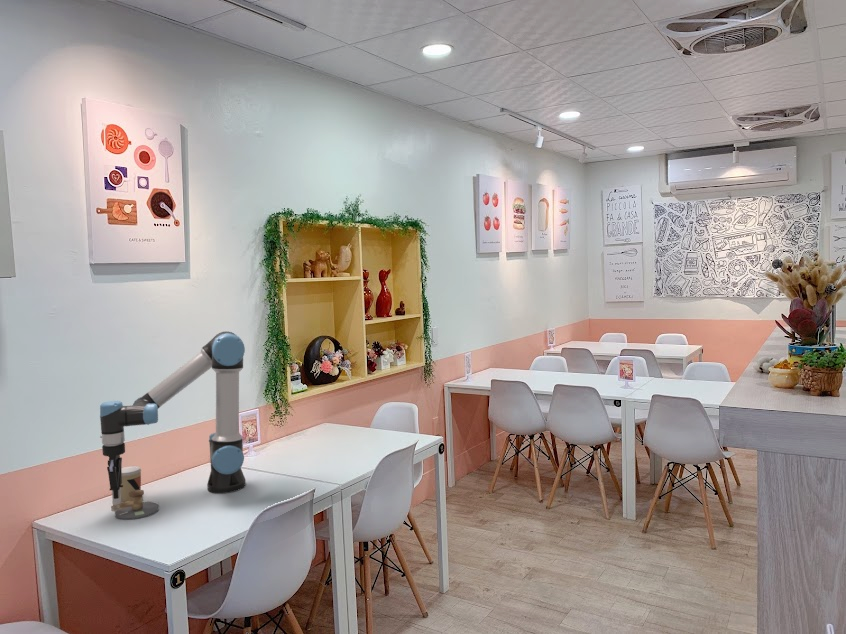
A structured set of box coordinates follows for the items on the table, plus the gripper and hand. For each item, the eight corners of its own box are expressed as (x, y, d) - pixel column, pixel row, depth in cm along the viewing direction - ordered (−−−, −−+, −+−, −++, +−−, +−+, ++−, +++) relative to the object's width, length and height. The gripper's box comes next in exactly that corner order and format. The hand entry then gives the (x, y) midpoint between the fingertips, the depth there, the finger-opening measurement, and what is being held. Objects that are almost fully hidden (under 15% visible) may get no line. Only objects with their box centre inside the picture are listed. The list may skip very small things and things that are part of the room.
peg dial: (139, 504, 245) (138, 488, 245) (147, 507, 242) (146, 491, 242) (109, 515, 236) (108, 498, 235) (117, 517, 233) (116, 501, 232)
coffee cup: (132, 503, 251) (131, 473, 250) (111, 502, 253) (109, 472, 252) (147, 495, 260) (145, 466, 259) (127, 494, 262) (125, 465, 261)
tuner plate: (166, 504, 249) (165, 501, 249) (147, 519, 234) (146, 516, 234) (128, 504, 250) (128, 501, 250) (106, 520, 235) (106, 516, 235)
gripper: (106, 440, 244) (110, 501, 246) (97, 449, 232) (102, 513, 233) (128, 438, 246) (131, 499, 248) (120, 447, 233) (124, 511, 235)
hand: (117, 505), depth 240 cm, fingers closed
